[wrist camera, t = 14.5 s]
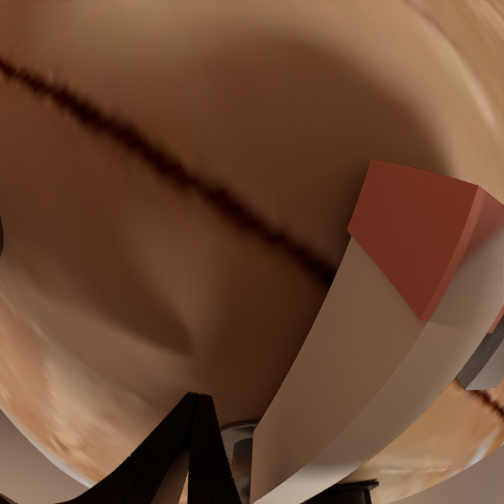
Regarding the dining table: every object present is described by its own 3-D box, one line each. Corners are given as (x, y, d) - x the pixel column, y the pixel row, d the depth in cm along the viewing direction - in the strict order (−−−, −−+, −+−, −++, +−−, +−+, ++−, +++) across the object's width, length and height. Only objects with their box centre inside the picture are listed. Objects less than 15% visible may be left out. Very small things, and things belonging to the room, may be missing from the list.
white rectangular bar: (293, 436, 11) (296, 507, 7) (249, 431, 11) (244, 505, 7) (433, 188, 6) (538, 236, 3) (371, 158, 6) (478, 185, 2)
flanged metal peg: (323, 426, 11) (333, 502, 7) (285, 461, 13) (286, 521, 9) (224, 412, 11) (213, 498, 7) (206, 450, 13) (196, 513, 8)
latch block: (468, 229, 7) (557, 290, 3) (432, 302, 8) (496, 387, 4) (435, 210, 7) (539, 273, 3) (397, 292, 8) (464, 390, 4)
